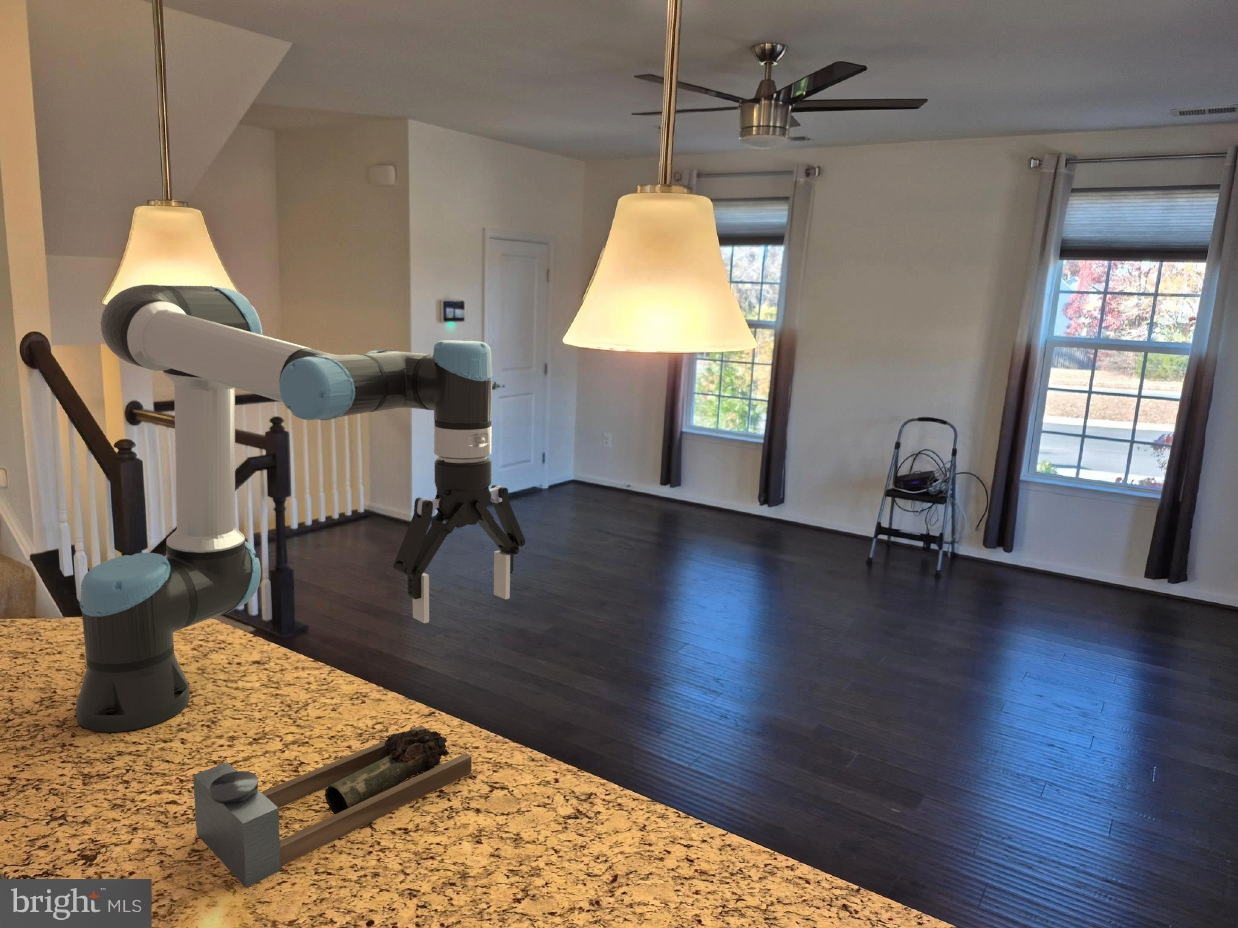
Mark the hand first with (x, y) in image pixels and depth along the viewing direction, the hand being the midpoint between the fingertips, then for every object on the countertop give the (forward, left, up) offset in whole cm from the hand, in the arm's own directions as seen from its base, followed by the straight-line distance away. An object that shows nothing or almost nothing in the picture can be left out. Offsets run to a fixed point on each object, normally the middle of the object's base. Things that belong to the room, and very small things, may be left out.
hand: (463, 607), depth 115 cm
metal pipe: (-2, -11, -23) cm, 26 cm away
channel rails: (-2, -15, -23) cm, 28 cm away
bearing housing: (-2, -31, -23) cm, 39 cm away
